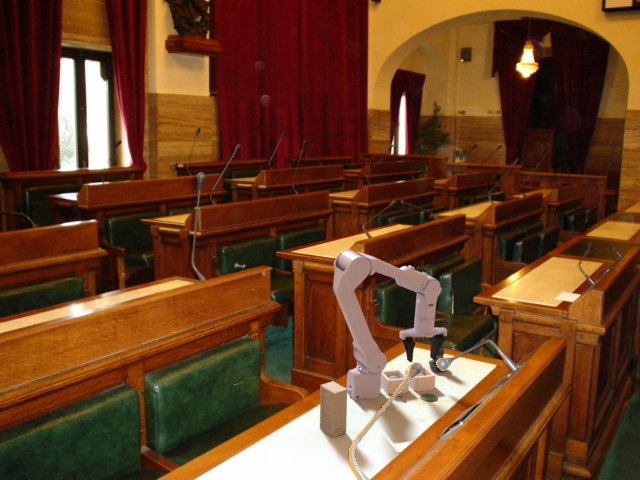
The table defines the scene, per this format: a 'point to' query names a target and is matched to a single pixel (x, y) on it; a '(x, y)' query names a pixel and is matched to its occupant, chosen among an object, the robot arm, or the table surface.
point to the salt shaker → (439, 355)
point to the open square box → (393, 381)
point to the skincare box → (333, 408)
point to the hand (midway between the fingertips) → (421, 359)
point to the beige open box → (422, 380)
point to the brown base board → (424, 398)
